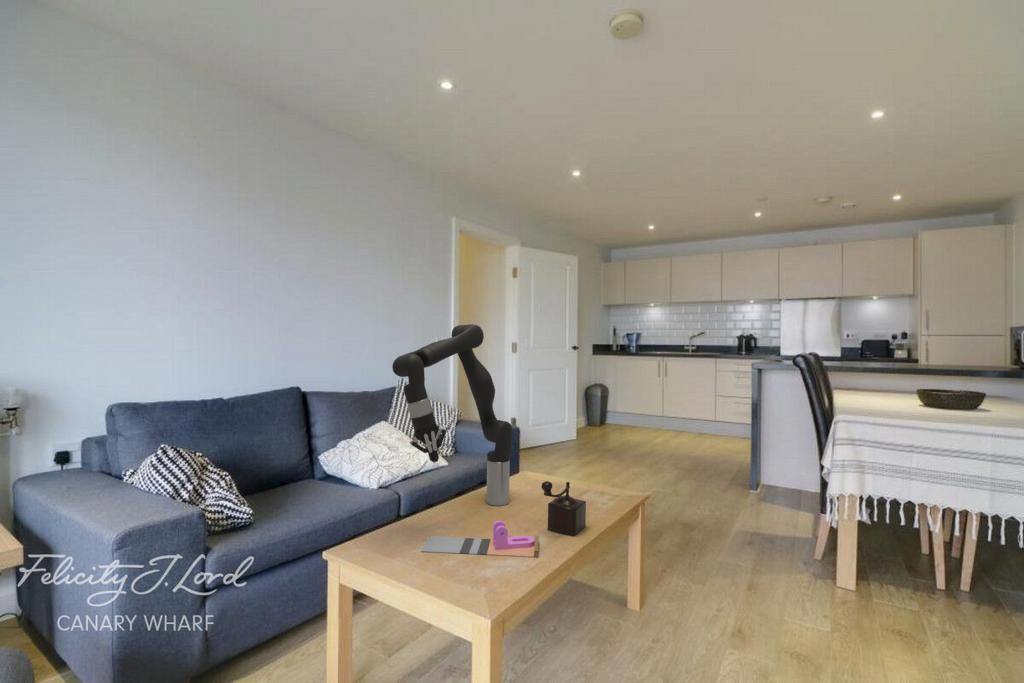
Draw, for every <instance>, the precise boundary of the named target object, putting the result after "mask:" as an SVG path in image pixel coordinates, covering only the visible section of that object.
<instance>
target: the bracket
mask: <svg viewBox="0 0 1024 683" xmlns="http://www.w3.org/2000/svg"><path fill="white" fill-rule="evenodd" d="M492 526H493V530H492V531H493V533H492V537H493V538H492V539H493V543H494V546H495V549H496V550H498V549H513V548H527V547H532V546H534V541H535V537H533V536H531V535H530V536H529V535H518V536H508V533H509V532H508V529H507V526H506V524H505V522H504V521H503V520H496V521H495V522H494V524H493V525H492Z"/></svg>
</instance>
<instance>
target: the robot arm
mask: <svg viewBox="0 0 1024 683" xmlns="http://www.w3.org/2000/svg"><path fill="white" fill-rule="evenodd" d="M484 337H485V335H484V331H483V329H482V328H481V327H480V325H477V324H472V323H470V324H460V325H456V326H454V327H453V329H452V330H451V337H449V338H446V339H442V340H438V341H434V342H431V343H430V344H429V343H428V344H427V345H425V346H422V347H420V348H418V349H417V350H414V351H411V352H408V353H404V354H402V355H399V356H398V357H396V358H395V359H394V360H393V362H392V365H391V366H392V371H393V373H394V374H395V375H396V376H398V377H400V378H405V377H408V378H407V379H408V383H407V384H406V385H404V387H403V393H404V398H405V401H406V403H407V410H408V414H409V417H410V420H411V423H412V427H413V431H414V434H413V436H414V437H413V439H412V440H410V442H409V444H410V446H412V447H414V448H416V449H417V450H419V451H420V452H422V453H424V454H428V458H429V461H430V462H431V463H434V464H435V463H437V462H439V459H440V456H439V453H438V449H439V448H441V447H442V445H443V441H444V438H445V436H446V433H447V430H446V429H443V428H440V427H439V425H438V424H437V422H436V417H435V414H434V411H433V410H434V409H433V406H432V404H431V402H430V401H431V400H430V399H429V396H428V392H427V389H426V386H425V382H426V381H425V378H426V377H425V376H426V375H425V369H426V368H429V367H432V366H433V365H436V364H438V363H440V362H441V361H444V360H445V359H448V358H449V357H452V356H454V355H457V356H458V358H459V359H460V362H461V365H462V368H463V370H464V373H465V376H466V379H467V381H468V385H469V389H470V390H471V394H472V397H473V399H474V402H475V406H476V410H477V412H478V416H479V421H480V425H481V430H482V433H483V436H484V438H485V439H486V440H487V441H488V442H491V443H494V449H493V450H490V451H489V452H487V455H486V504H488V505H491V506H497V507H498V506H505V505H508V504H509V503H510V469H511V468H510V466H511V465H510V464H511V463H510V459H511V454H512V450H513V426H512V425H511V423H510V422H508V421H505V420H500V419H498V418H496V415H495V414H496V413H495V411H494V407H493V404H494V402H495V400H494V399H495V396H496V387H495V385H494V381H493V378H492V375H491V373H490V371H488V369H487V368H486V366H485V365H483V364H482V362H481V361H480V360H479V359H478V358H477V356H476V355H475V353H474V349H477V348H478V347H480V346H481V345H482V344H483V341H484ZM437 435H438V436H437ZM420 442H421V443H423V446H421V445H420ZM424 447H425V448H424Z"/></svg>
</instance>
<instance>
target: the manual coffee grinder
mask: <svg viewBox="0 0 1024 683" xmlns="http://www.w3.org/2000/svg"><path fill="white" fill-rule="evenodd" d="M565 482H566V483H565V488H564V489H563V490H562V491H561V492H560V493H558V494H553V493H552V489H553V483H552V482H551V481H548V480H545V481H543V482H542V483H541V486H540V487H541V490H542V491H543V496H545V497H551V498H554V499H553V500H552V501H550V502H549V503H547V530H548V531H550V532H553V533H557V534H560V535H564V536H569V537H575V536H577V535H578V534H580V533H581V532H582V531H583V530H584V529H585V528H586V525H587V524H586V518H587V516H586V515H587V514H586V513H587V511H586V507H587V501H586V500H581V499H578V498H574V497H573V496H570V487H571V486H570V482H569V481H565Z"/></svg>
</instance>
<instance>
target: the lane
mask: <svg viewBox="0 0 1024 683" xmlns="http://www.w3.org/2000/svg"><path fill="white" fill-rule="evenodd" d="M539 540H540V538H539V535H535V536H534V546H532V547H527V548H513V549H498V550H496V549H495V546H494V543H493V538H476V537H475V538H474V537H472V538H471V537H451V536H434V535H433V536H432V535H430V536H429V537H428V539H427V540H426V542H425V543H424V544H423V547H422V549H421V550H420V553H433V554H434V553H435V554H437V553H439V554H453V555H455V554H456V555H478V556H479V555H481V556H498V557H499V556H500V557H501V556H502V557H519V558H520V557H521V558H525V557H526V558H539V545H540V544H539V542H540V541H539Z"/></svg>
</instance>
